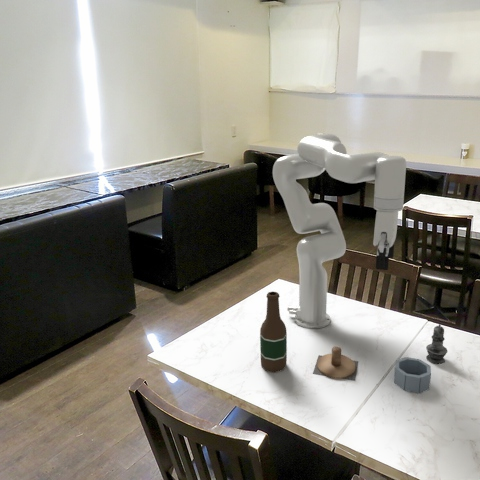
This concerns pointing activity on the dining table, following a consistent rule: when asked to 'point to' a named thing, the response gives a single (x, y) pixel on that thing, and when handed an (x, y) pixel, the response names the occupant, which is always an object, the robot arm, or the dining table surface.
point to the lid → (336, 364)
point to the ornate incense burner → (437, 347)
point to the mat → (342, 378)
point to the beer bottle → (273, 337)
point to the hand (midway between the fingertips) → (384, 263)
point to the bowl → (412, 375)
